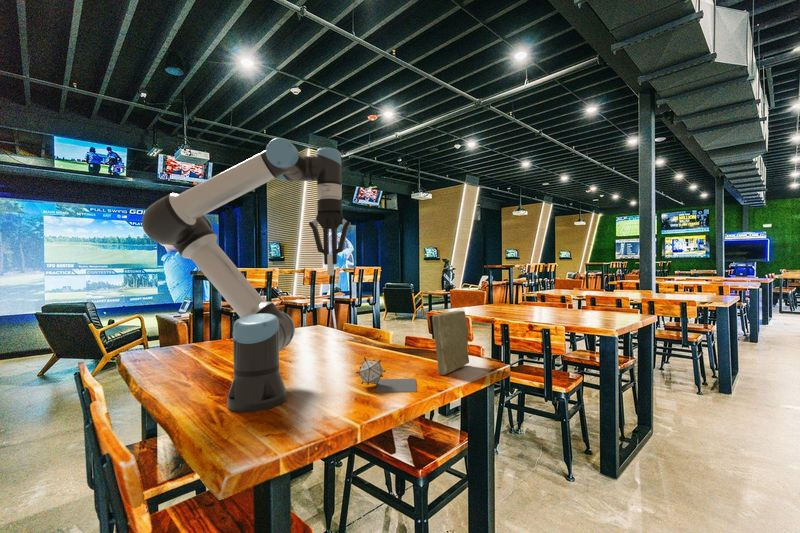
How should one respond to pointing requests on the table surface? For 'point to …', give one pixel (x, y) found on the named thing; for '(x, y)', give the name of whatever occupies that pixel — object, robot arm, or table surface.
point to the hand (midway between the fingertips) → (330, 275)
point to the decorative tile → (451, 340)
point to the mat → (396, 385)
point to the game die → (371, 371)
